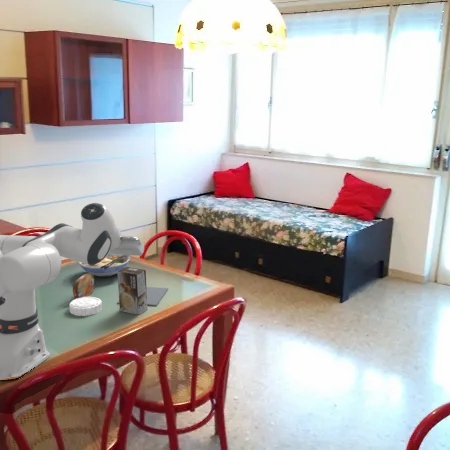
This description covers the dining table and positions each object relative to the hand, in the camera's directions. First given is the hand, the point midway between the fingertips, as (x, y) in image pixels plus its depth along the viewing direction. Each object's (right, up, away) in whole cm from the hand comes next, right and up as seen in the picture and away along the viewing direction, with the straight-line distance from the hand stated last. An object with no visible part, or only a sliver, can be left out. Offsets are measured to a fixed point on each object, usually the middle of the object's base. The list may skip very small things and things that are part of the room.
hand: (119, 256), depth 179 cm
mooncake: (-16, -22, +19) cm, 33 cm away
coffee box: (+2, -22, +18) cm, 28 cm away
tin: (-21, -18, +32) cm, 42 cm away
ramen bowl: (-18, -12, +57) cm, 61 cm away
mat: (+4, -18, +32) cm, 37 cm away
